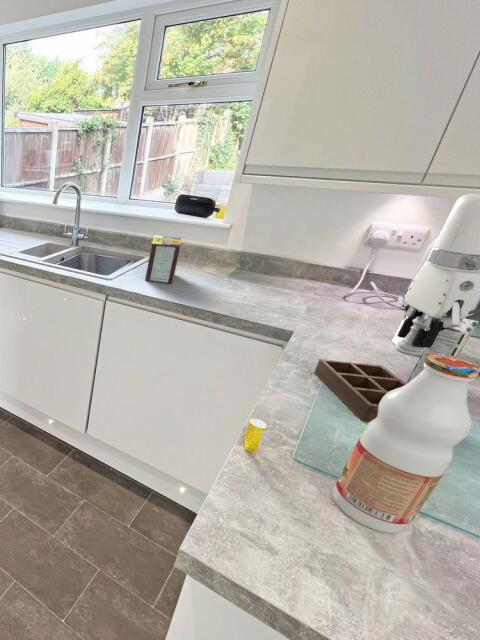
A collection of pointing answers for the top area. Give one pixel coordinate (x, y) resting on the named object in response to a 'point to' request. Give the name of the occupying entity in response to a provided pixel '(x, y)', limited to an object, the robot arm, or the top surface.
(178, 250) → the protein box
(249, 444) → the yellow pill bottle
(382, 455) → the fruit juice
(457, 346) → the candy bar box
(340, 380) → the grid
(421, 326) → the rook chess piece
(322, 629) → the top surface
